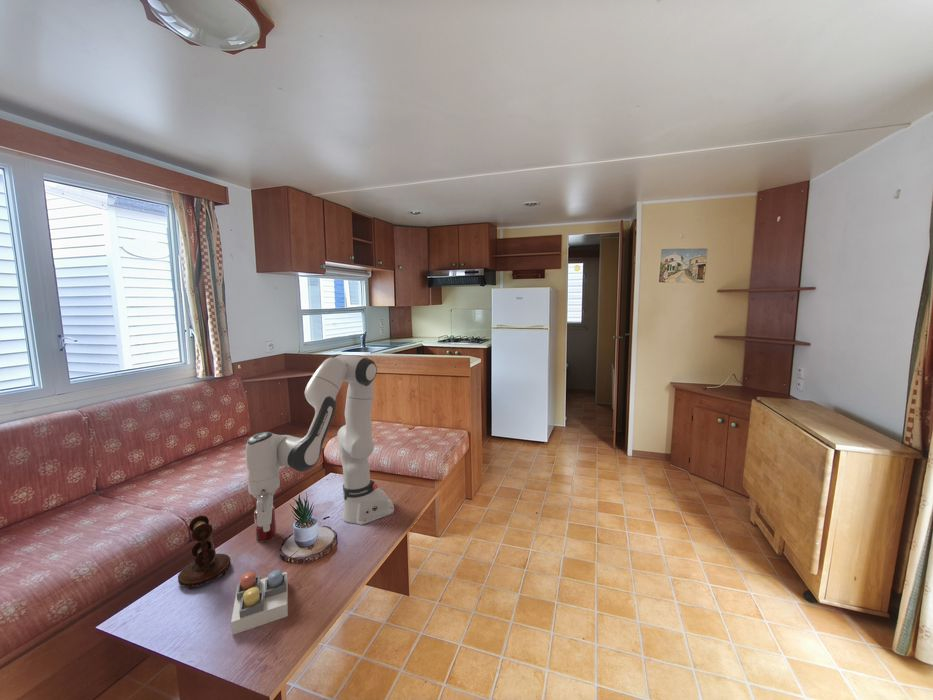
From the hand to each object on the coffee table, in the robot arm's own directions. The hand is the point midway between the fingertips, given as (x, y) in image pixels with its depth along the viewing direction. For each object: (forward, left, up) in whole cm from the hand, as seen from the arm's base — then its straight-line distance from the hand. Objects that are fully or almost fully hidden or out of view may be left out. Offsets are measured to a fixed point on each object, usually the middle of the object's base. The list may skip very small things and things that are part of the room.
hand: (267, 524), depth 119 cm
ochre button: (+4, +13, -15) cm, 21 cm away
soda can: (+3, -30, -21) cm, 37 cm away
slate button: (-2, +8, -15) cm, 18 cm away
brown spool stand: (+21, -16, -22) cm, 34 cm away
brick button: (+6, +5, -15) cm, 17 cm away
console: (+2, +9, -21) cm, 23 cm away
